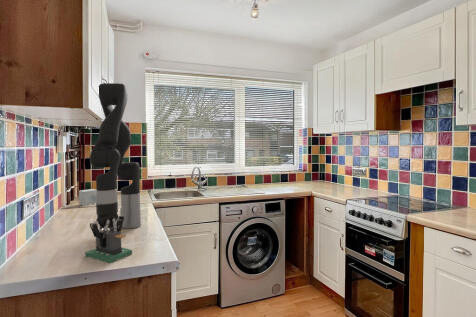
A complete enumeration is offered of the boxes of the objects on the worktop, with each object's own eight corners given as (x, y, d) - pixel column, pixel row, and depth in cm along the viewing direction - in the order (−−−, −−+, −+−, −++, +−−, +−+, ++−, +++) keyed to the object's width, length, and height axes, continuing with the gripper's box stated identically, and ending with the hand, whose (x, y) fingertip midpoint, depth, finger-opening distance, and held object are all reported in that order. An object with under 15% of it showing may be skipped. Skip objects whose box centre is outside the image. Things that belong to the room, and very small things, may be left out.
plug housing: (96, 246, 113) (95, 231, 113) (105, 243, 116) (104, 228, 116) (119, 252, 107) (118, 236, 106) (127, 249, 110) (127, 233, 110)
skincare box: (83, 206, 203) (82, 191, 203) (79, 205, 207) (78, 190, 207) (98, 203, 211) (97, 189, 211) (93, 202, 215) (93, 188, 215)
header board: (85, 256, 112) (84, 240, 111) (108, 247, 120) (107, 233, 120) (109, 263, 105) (109, 246, 104) (132, 253, 114) (131, 238, 113)
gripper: (116, 197, 120) (117, 238, 120) (83, 203, 107) (85, 250, 108) (128, 198, 116) (130, 241, 117) (96, 205, 104) (98, 253, 104)
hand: (108, 245), depth 112 cm, fingers closed on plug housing, 3 cm apart
